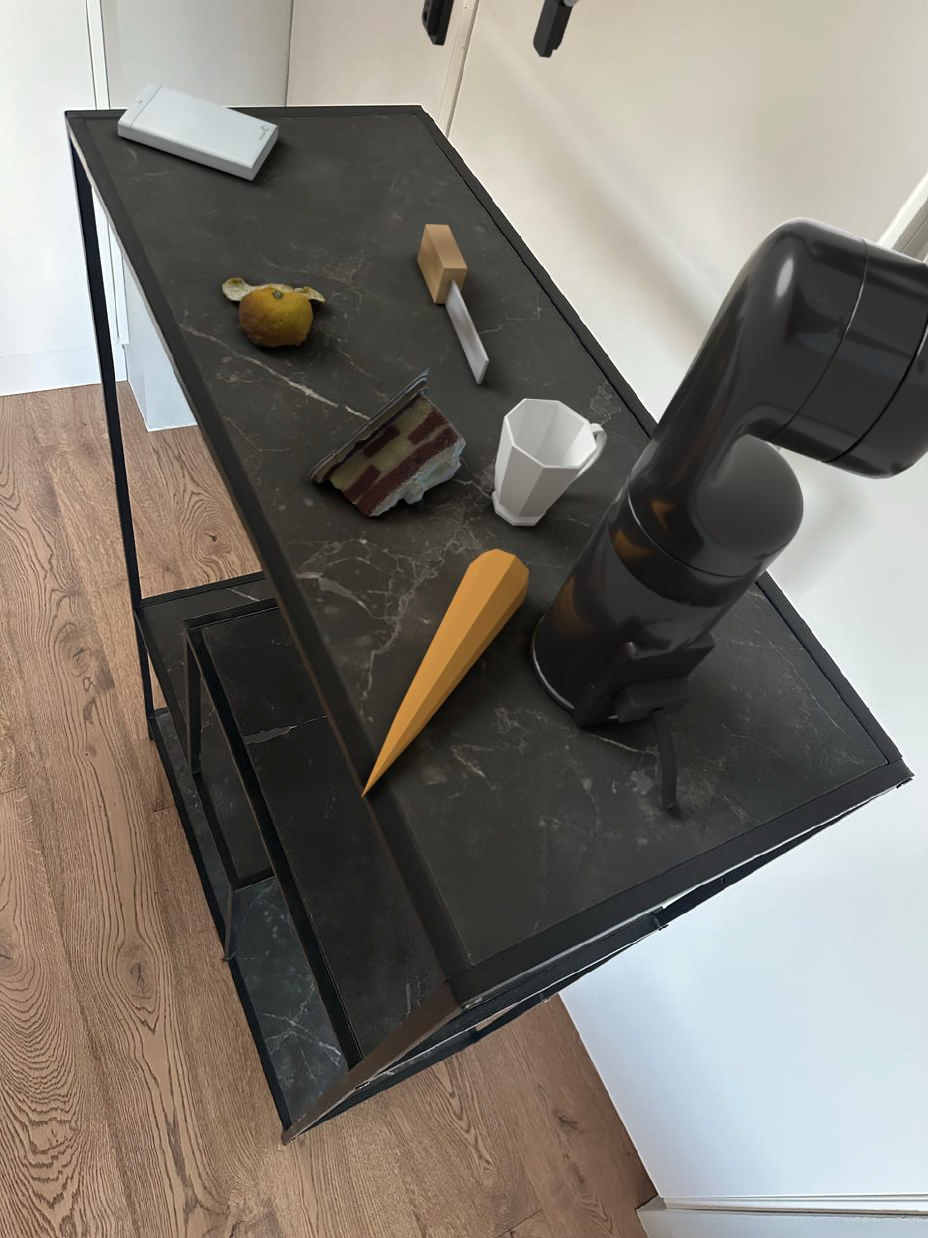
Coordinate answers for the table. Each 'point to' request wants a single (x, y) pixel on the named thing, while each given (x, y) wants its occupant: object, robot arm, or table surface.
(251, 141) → the hard drive
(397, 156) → the table surface
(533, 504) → the cup
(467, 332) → the knife
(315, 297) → the fruit
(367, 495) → the chocolate cake
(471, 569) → the carrot
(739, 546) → the robot arm
